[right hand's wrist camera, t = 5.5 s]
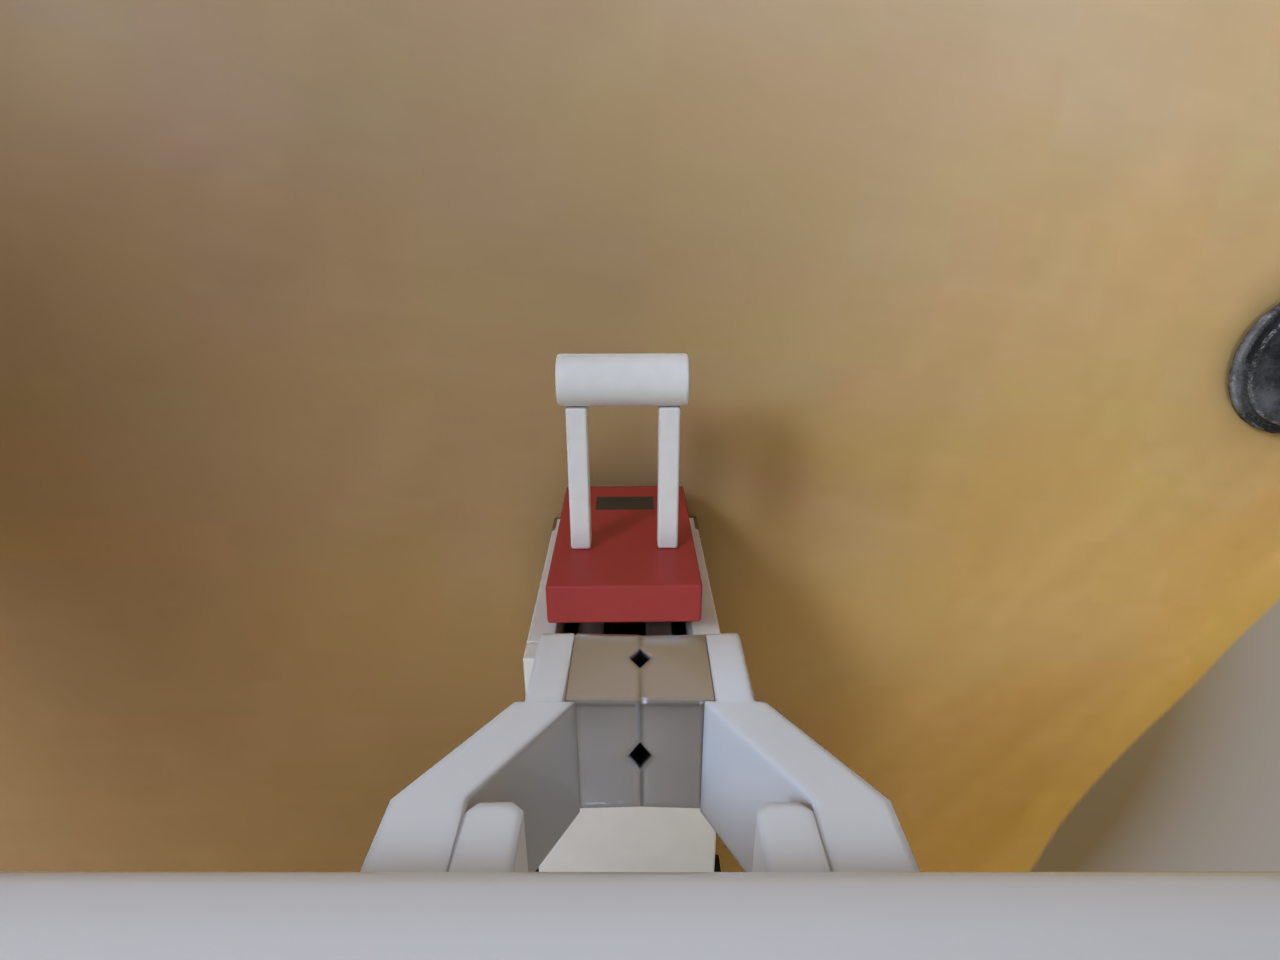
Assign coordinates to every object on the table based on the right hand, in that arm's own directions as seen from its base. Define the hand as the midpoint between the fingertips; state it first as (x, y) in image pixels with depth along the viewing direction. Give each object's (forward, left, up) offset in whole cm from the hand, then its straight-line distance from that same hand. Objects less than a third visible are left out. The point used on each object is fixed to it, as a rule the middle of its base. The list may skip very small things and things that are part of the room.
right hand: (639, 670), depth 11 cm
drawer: (+7, -4, -15) cm, 17 cm away
